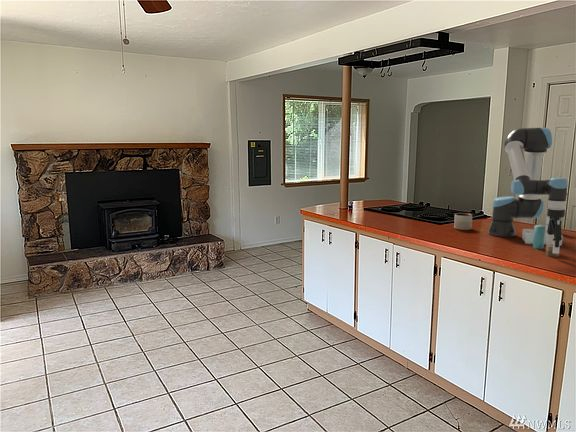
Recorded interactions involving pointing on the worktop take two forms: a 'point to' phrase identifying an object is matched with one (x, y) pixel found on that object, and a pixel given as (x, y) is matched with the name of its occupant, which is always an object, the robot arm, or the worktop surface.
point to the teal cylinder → (538, 237)
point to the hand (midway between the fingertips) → (552, 250)
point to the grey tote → (529, 236)
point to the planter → (463, 221)
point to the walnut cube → (550, 251)
